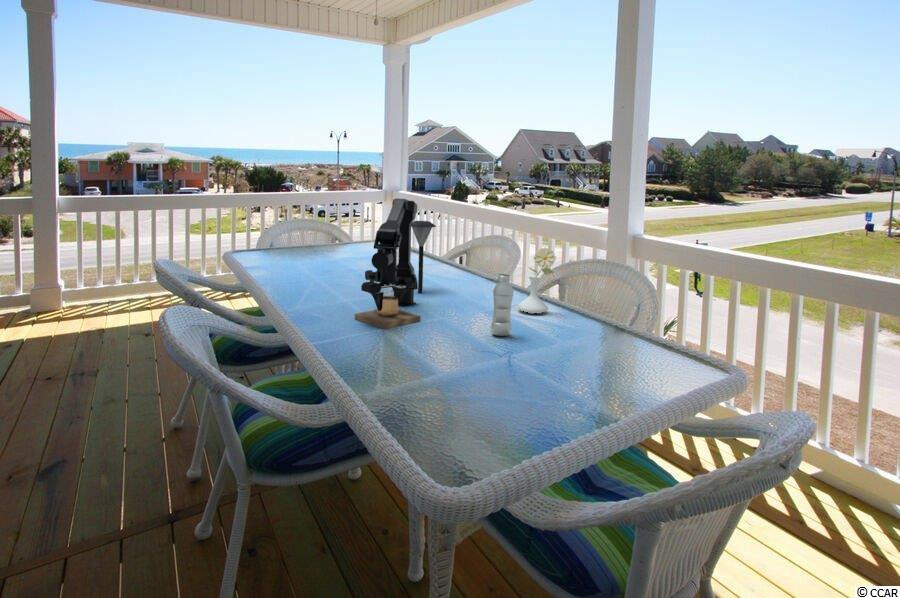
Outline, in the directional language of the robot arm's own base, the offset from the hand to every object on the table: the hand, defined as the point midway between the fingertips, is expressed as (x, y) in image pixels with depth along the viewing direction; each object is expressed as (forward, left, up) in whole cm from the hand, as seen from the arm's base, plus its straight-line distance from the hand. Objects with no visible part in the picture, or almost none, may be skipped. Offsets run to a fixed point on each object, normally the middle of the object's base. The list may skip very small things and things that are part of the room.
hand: (387, 309), depth 209 cm
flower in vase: (-51, +25, -4) cm, 57 cm away
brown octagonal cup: (0, 0, -1) cm, 1 cm away
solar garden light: (-39, -26, -4) cm, 47 cm away
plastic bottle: (-17, +37, -4) cm, 41 cm away
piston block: (0, 0, -4) cm, 4 cm away
